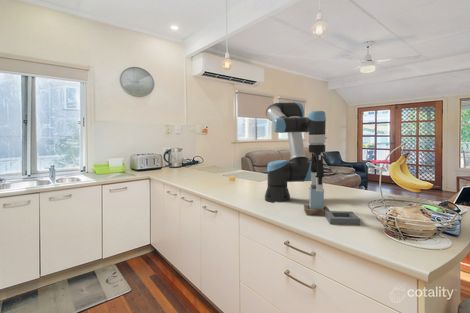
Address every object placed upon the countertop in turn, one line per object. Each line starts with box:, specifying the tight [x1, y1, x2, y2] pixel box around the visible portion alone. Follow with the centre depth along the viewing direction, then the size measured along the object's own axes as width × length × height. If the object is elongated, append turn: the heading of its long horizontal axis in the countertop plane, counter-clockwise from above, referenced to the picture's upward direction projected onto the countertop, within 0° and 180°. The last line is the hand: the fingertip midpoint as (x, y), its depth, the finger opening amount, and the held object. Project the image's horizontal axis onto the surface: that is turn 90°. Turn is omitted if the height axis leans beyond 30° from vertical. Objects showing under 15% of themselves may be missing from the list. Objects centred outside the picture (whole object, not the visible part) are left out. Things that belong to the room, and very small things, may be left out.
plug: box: [308, 184, 325, 209], centre depth 118 cm, size 6×4×14 cm, turn 82°
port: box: [324, 210, 361, 226], centre depth 107 cm, size 12×10×3 cm
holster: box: [303, 204, 331, 217], centre depth 118 cm, size 10×8×3 cm
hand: (316, 188), depth 117 cm, fingers open, 13 cm apart
